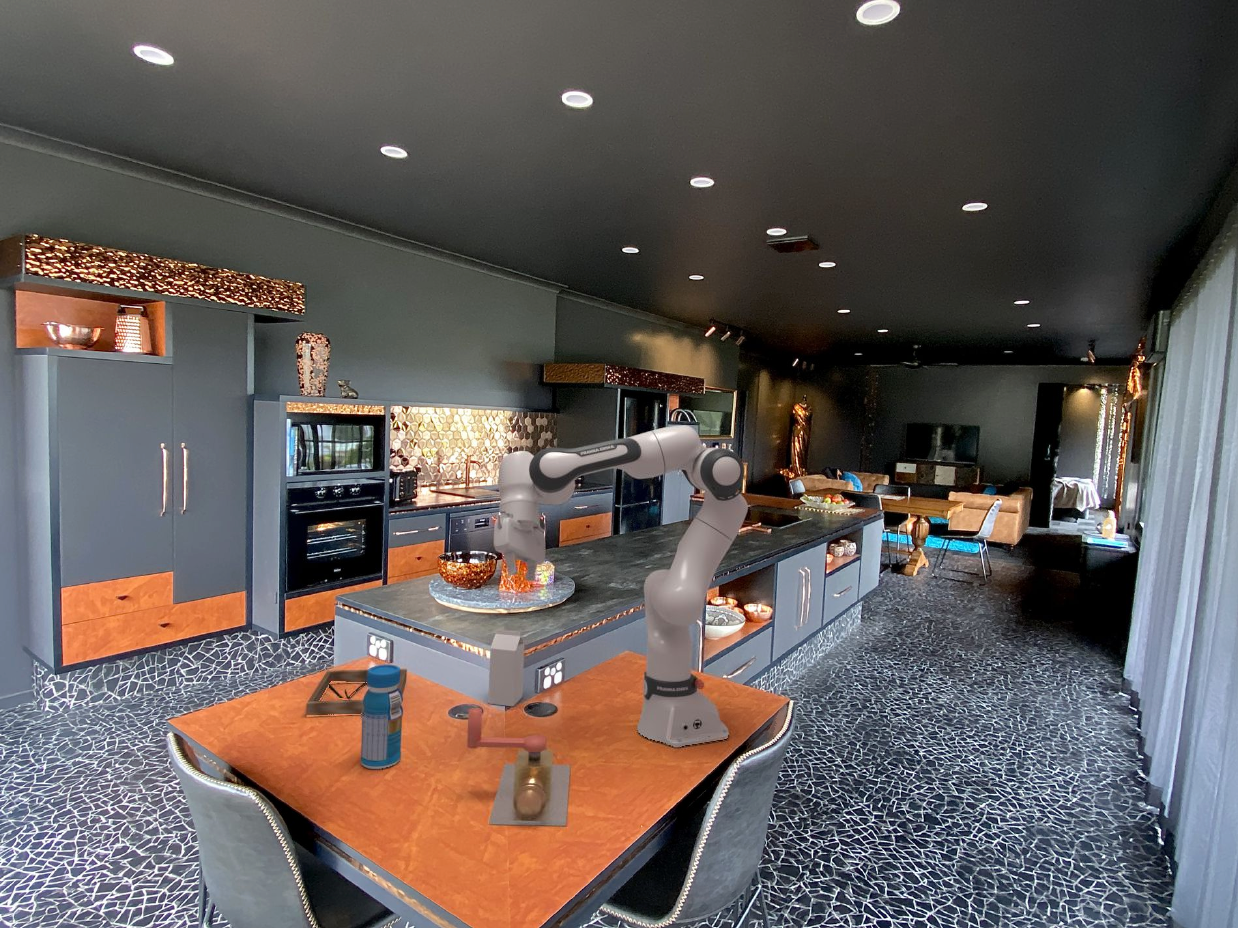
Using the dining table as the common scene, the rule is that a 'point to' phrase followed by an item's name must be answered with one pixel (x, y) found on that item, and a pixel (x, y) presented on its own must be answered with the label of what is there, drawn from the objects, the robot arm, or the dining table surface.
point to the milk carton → (506, 668)
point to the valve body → (532, 791)
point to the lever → (475, 740)
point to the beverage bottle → (382, 718)
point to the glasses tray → (345, 705)
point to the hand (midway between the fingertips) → (521, 577)
